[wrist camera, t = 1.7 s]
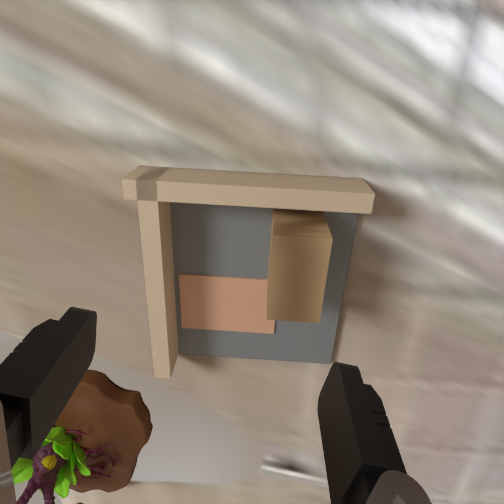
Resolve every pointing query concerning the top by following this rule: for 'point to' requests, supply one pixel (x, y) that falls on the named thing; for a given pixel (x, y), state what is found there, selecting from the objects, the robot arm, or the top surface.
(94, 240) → the top surface
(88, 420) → the brown rough-edged lump
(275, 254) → the oak block
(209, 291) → the tray
